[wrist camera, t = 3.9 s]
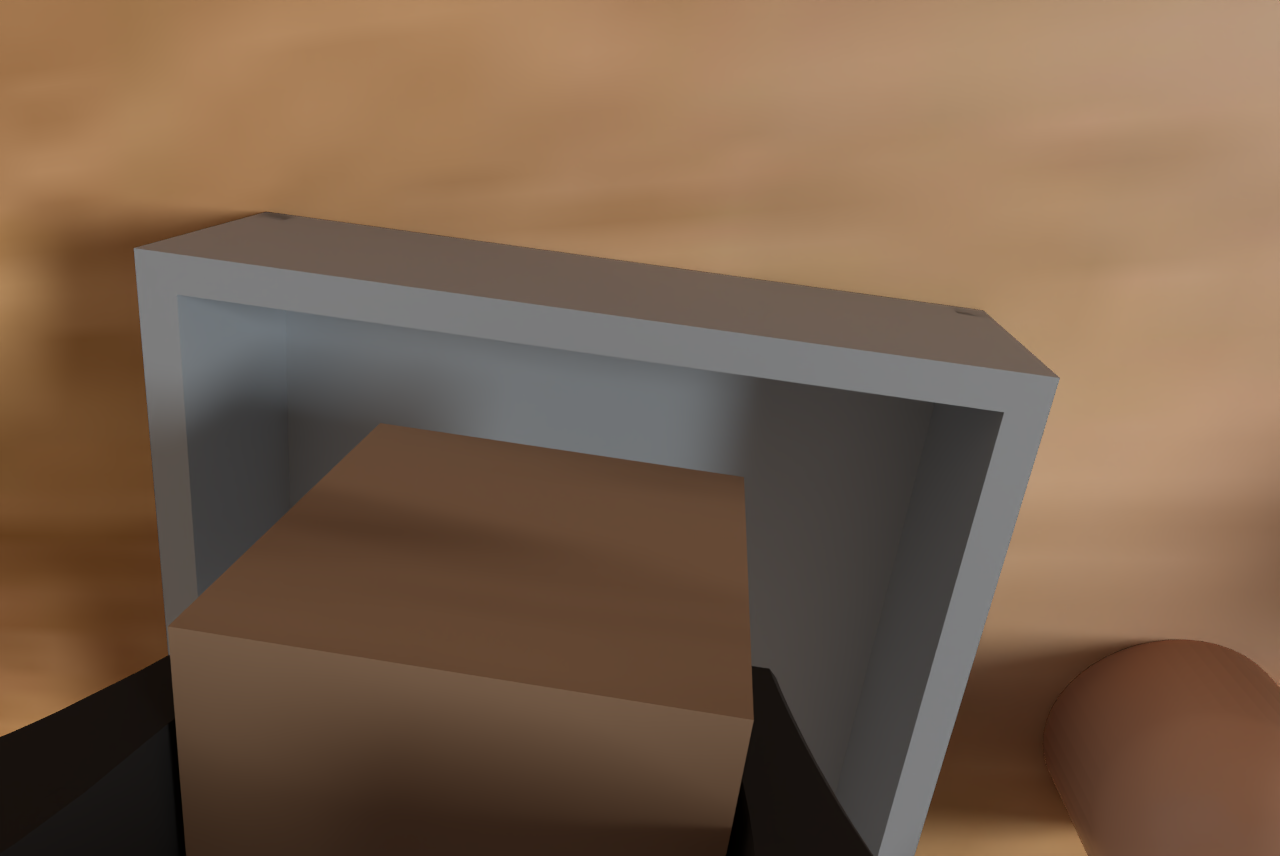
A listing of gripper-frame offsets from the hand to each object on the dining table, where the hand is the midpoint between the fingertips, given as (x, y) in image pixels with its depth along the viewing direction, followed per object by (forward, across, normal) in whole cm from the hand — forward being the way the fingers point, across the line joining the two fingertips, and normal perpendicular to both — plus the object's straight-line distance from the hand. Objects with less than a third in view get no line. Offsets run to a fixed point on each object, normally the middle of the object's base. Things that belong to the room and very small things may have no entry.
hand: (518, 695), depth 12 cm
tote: (+7, 0, +4) cm, 8 cm away
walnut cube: (+2, 0, 0) cm, 2 cm away
